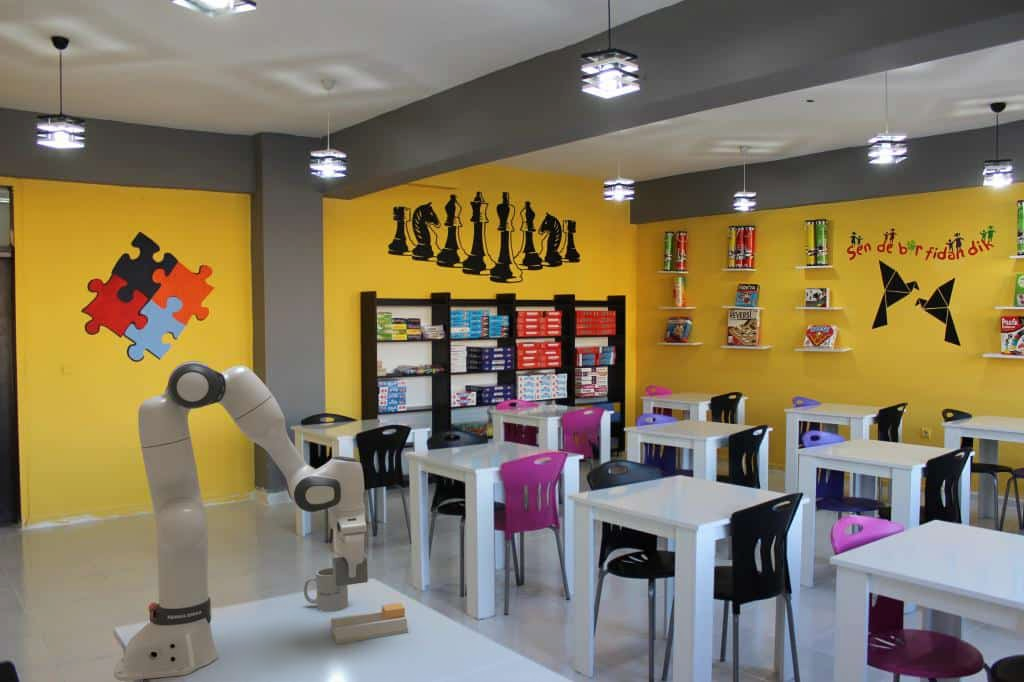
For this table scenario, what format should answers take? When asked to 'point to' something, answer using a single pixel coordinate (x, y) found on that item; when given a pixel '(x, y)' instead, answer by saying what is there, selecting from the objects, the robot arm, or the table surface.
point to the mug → (328, 592)
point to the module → (342, 572)
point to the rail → (370, 624)
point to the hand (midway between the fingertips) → (349, 573)
